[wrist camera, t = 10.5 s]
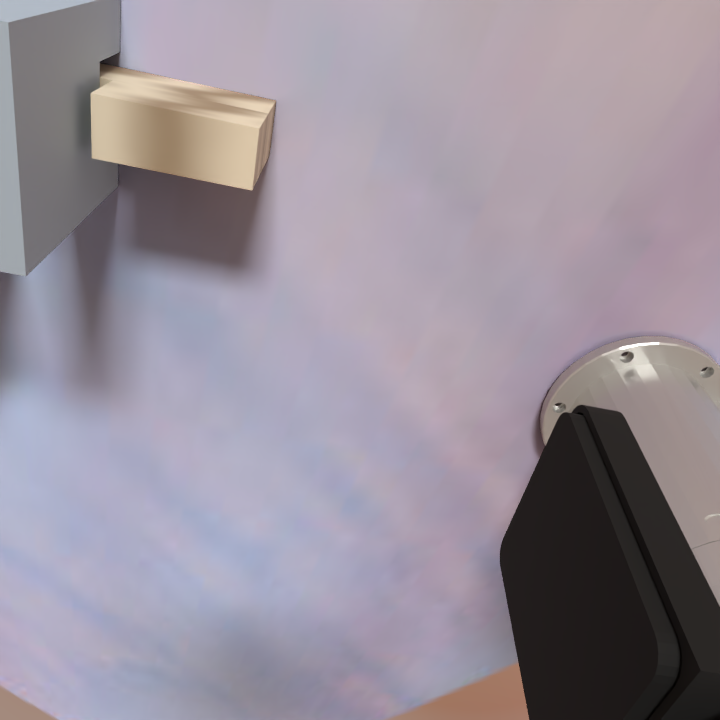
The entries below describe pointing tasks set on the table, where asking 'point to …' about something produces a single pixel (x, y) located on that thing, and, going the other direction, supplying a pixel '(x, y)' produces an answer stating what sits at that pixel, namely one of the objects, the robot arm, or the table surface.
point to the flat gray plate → (50, 122)
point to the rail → (180, 127)
